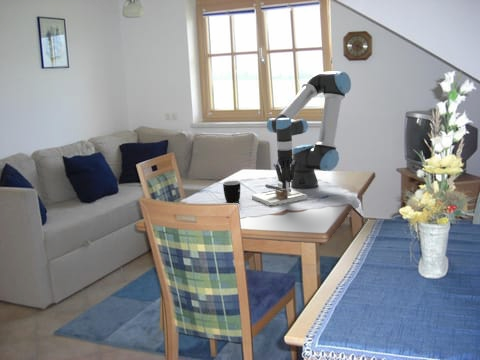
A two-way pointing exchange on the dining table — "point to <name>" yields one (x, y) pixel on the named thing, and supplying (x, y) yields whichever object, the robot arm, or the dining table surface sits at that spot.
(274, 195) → the console
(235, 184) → the mug
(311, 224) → the dining table surface
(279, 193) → the slider walnut
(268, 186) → the rocker
